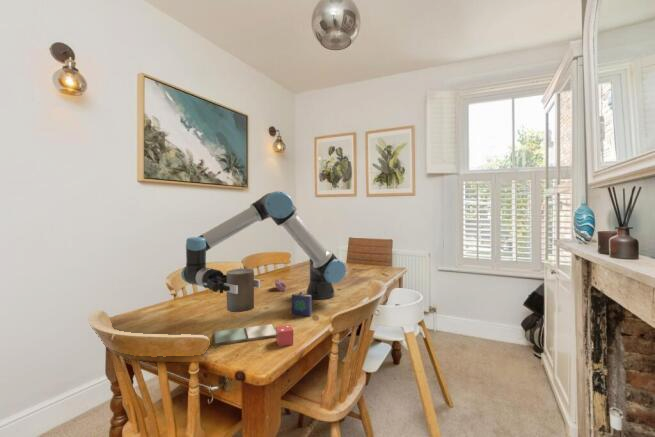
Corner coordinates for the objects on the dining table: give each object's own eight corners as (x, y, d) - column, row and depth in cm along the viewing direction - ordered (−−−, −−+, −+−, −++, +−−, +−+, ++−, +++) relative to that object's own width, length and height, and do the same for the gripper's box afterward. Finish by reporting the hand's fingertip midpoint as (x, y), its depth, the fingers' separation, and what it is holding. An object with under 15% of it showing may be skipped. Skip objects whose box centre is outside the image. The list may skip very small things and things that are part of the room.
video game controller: (279, 289, 181) (274, 279, 181) (286, 286, 182) (281, 276, 181) (278, 294, 171) (272, 283, 171) (285, 290, 172) (280, 279, 171)
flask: (312, 315, 134) (312, 290, 133) (310, 317, 131) (310, 292, 131) (292, 313, 136) (292, 289, 136) (290, 315, 133) (290, 291, 133)
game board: (273, 325, 121) (273, 323, 121) (278, 336, 110) (278, 334, 110) (214, 333, 113) (214, 331, 113) (214, 346, 103) (214, 343, 103)
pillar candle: (259, 306, 113) (259, 266, 113) (241, 314, 104) (241, 270, 104) (239, 303, 117) (239, 264, 117) (220, 310, 108) (220, 268, 108)
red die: (289, 338, 109) (289, 324, 109) (293, 344, 104) (293, 329, 104) (276, 340, 107) (276, 326, 107) (278, 346, 102) (278, 331, 102)
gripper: (233, 282, 130) (270, 290, 117) (183, 293, 111) (221, 305, 99) (233, 265, 130) (271, 271, 117) (183, 273, 111) (222, 282, 99)
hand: (248, 286), depth 108 cm, fingers closed on pillar candle, 9 cm apart
